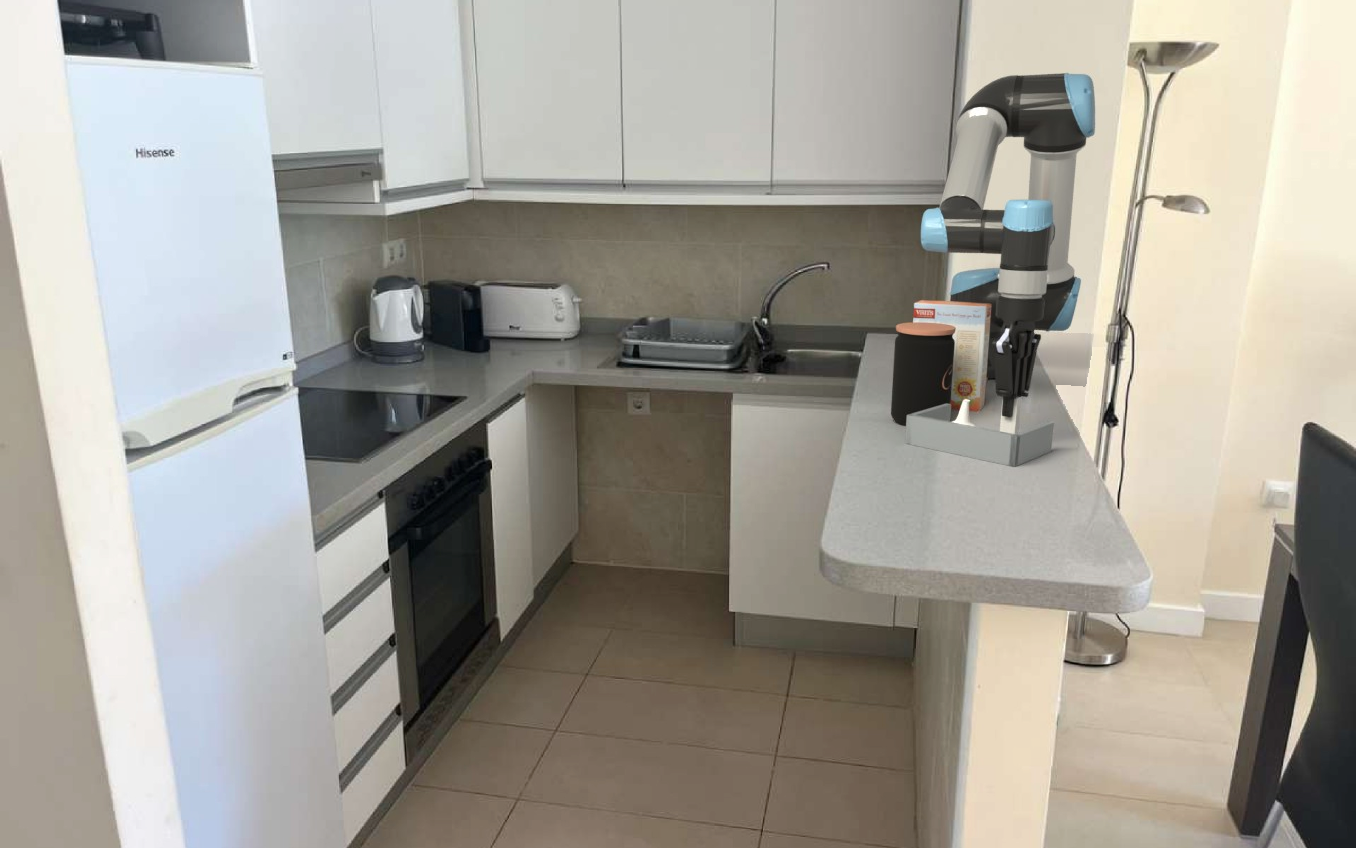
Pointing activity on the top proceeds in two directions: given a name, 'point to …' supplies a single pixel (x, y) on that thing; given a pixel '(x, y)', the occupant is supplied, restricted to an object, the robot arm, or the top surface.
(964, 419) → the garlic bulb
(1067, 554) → the top surface
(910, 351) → the coffee jar
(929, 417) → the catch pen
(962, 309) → the cracker box
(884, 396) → the top surface
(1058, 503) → the top surface
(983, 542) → the top surface
